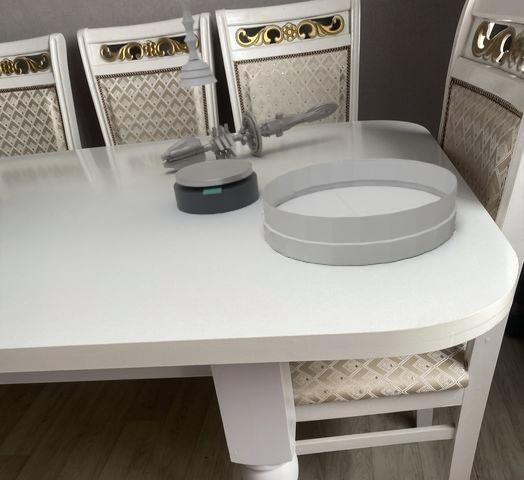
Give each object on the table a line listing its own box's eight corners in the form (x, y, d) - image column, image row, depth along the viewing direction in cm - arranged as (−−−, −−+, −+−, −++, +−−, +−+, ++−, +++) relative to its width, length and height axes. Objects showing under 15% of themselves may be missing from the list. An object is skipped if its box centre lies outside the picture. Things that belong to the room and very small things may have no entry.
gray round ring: (282, 280, 52) (277, 232, 49) (251, 211, 71) (247, 174, 68) (494, 244, 54) (500, 196, 51) (410, 187, 72) (411, 149, 70)
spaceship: (350, 96, 93) (328, 75, 97) (165, 154, 86) (150, 129, 90) (346, 135, 100) (326, 114, 104) (174, 193, 93) (159, 168, 97)
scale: (171, 219, 71) (167, 196, 70) (182, 192, 82) (178, 172, 80) (259, 210, 71) (256, 186, 69) (258, 184, 81) (256, 163, 79)
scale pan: (171, 190, 70) (169, 184, 70) (180, 169, 79) (179, 163, 79) (252, 181, 70) (252, 175, 69) (252, 161, 79) (252, 155, 78)
